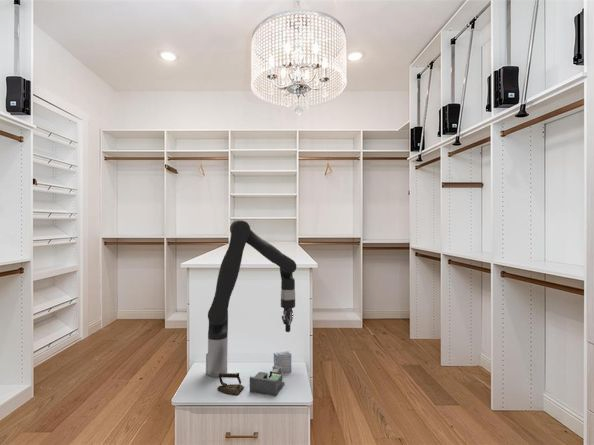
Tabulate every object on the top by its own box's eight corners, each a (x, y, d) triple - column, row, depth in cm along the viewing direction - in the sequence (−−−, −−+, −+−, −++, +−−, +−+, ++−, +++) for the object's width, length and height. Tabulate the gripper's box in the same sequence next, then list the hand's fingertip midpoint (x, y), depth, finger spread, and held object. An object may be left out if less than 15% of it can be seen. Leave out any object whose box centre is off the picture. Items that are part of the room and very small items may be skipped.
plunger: (266, 381, 150) (266, 371, 150) (273, 373, 158) (273, 363, 158) (281, 383, 147) (281, 373, 148) (288, 375, 156) (288, 365, 156)
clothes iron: (240, 397, 139) (234, 374, 139) (215, 401, 141) (209, 378, 141) (245, 387, 146) (239, 365, 145) (221, 391, 148) (216, 370, 147)
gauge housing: (249, 391, 142) (249, 377, 142) (260, 381, 153) (260, 367, 153) (275, 396, 139) (275, 381, 139) (284, 384, 149) (284, 371, 149)
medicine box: (288, 368, 167) (288, 350, 167) (291, 371, 163) (291, 353, 163) (273, 370, 164) (273, 352, 165) (276, 374, 160) (276, 355, 161)
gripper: (285, 295, 180) (285, 327, 179) (276, 299, 167) (276, 334, 167) (298, 295, 178) (298, 328, 177) (290, 300, 165) (290, 336, 164)
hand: (287, 331), depth 172 cm, fingers closed
